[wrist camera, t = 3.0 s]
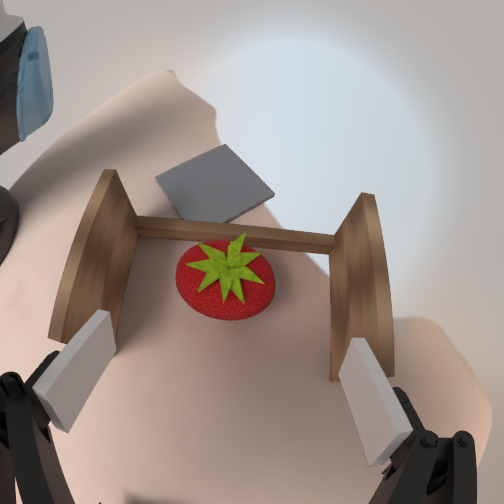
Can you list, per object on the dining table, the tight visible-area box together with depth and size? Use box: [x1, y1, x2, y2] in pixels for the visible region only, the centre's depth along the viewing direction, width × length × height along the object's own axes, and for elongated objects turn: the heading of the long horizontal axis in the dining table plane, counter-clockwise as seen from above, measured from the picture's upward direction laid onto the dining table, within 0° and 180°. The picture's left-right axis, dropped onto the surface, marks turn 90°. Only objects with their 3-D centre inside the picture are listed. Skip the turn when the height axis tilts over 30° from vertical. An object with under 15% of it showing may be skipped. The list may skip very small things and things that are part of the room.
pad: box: [155, 144, 275, 223], centre depth 30 cm, size 10×10×1 cm
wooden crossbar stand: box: [48, 169, 394, 381], centre depth 21 cm, size 14×22×9 cm, turn 86°
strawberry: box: [176, 232, 275, 320], centre depth 20 cm, size 6×8×10 cm
